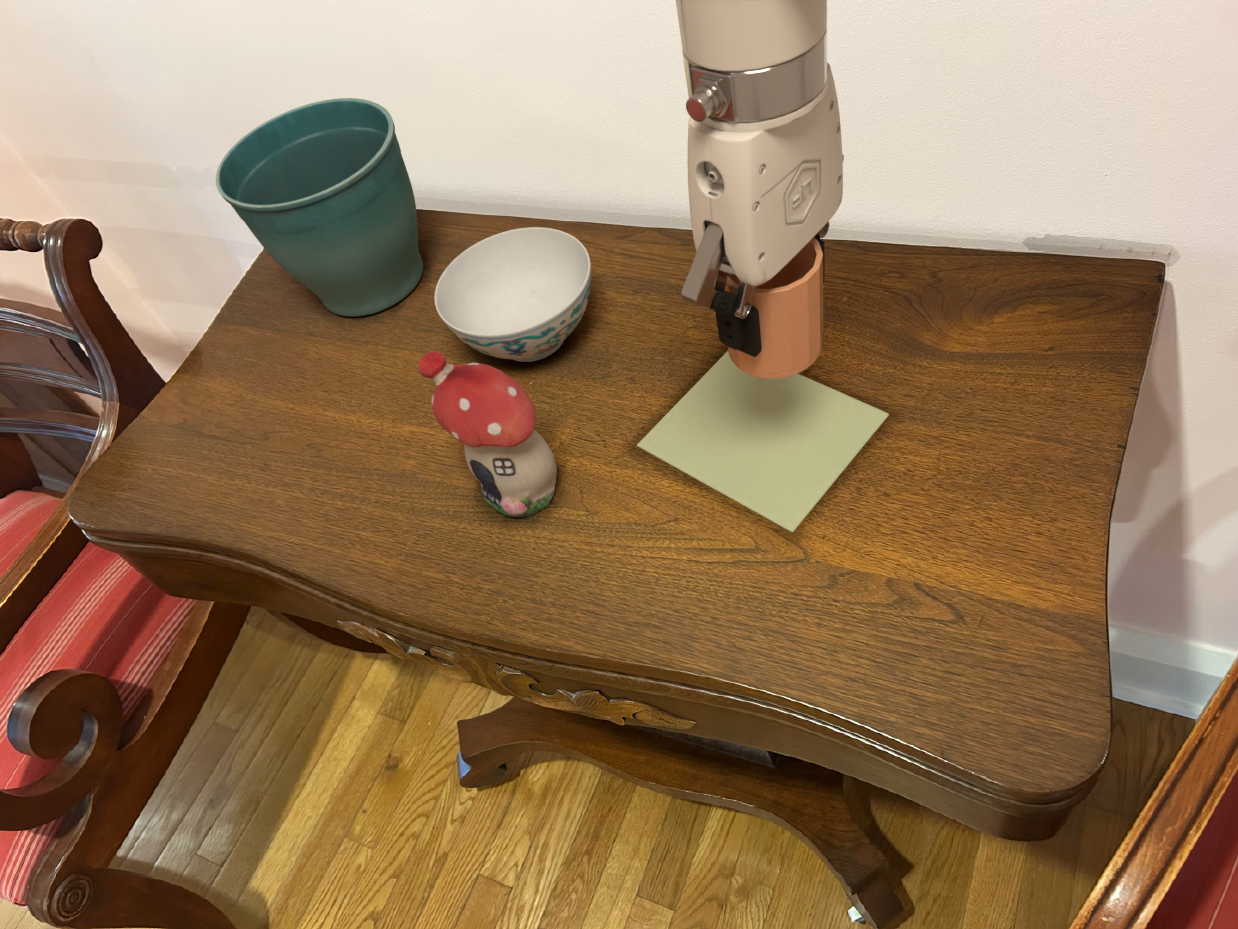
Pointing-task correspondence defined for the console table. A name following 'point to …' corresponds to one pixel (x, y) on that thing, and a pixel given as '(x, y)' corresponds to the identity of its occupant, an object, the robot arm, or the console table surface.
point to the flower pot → (330, 202)
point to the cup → (787, 317)
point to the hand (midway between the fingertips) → (772, 312)
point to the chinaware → (516, 292)
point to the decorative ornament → (494, 433)
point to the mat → (764, 439)
